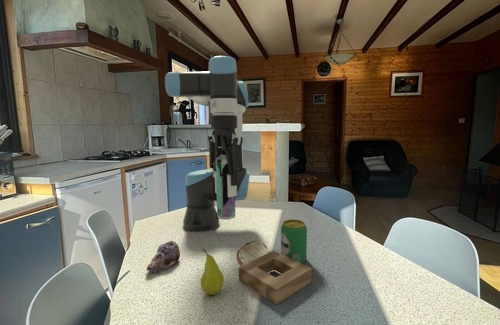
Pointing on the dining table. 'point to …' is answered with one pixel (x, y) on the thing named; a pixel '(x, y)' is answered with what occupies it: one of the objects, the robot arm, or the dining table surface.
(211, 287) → the fruit
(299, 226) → the beverage can
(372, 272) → the dining table surface
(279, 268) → the hole block
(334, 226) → the dining table surface
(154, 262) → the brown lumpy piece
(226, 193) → the spray can
